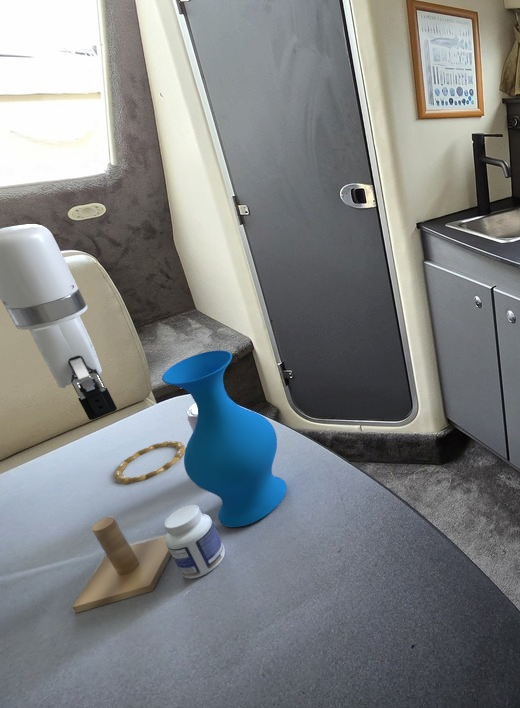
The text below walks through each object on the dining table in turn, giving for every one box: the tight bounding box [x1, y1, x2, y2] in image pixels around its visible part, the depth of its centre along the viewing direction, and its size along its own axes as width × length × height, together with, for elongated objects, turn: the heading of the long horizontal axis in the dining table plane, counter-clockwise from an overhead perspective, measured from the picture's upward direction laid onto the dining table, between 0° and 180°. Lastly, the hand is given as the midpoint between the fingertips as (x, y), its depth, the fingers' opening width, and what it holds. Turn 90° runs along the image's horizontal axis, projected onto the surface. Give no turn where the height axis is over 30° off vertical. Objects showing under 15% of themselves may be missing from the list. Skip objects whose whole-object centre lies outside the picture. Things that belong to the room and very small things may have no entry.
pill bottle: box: [164, 504, 226, 580], centre depth 73 cm, size 5×5×10 cm
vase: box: [161, 349, 288, 528], centre depth 79 cm, size 12×13×28 cm
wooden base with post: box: [71, 516, 172, 614], centre depth 72 cm, size 9×9×10 cm
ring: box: [113, 440, 186, 485], centre depth 94 cm, size 10×10×1 cm
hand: (97, 402), depth 79 cm, fingers open, 9 cm apart
